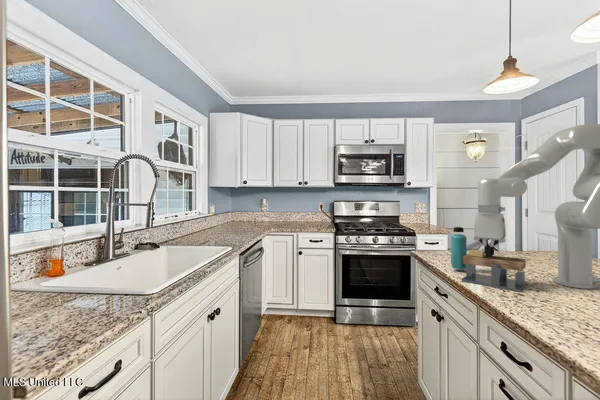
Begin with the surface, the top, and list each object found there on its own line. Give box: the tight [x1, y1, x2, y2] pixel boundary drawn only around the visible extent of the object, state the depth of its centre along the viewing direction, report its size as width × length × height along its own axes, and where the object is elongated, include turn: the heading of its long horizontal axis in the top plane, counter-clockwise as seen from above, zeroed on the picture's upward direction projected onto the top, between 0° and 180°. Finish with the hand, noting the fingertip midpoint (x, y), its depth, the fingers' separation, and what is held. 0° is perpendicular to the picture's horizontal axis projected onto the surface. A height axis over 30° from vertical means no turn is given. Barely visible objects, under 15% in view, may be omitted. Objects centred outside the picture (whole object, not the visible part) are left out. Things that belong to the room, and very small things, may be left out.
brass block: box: [468, 249, 486, 258], centre depth 120 cm, size 5×5×3 cm
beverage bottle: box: [450, 226, 468, 270], centre depth 134 cm, size 6×7×20 cm
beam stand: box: [461, 263, 528, 293], centre depth 116 cm, size 19×13×9 cm
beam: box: [463, 253, 527, 272], centre depth 116 cm, size 19×8×3 cm, turn 43°
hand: (489, 256), depth 116 cm, fingers closed
